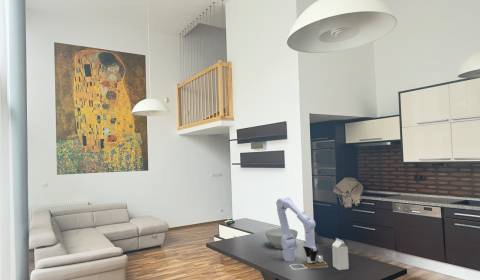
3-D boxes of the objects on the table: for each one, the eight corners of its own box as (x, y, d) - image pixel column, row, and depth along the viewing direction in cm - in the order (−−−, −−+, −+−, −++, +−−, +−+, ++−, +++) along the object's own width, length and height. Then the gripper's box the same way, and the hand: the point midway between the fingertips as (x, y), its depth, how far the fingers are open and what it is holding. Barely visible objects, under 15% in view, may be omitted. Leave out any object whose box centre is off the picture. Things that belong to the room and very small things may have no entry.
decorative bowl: (258, 247, 253) (258, 232, 254) (277, 240, 273) (277, 226, 274) (286, 253, 235) (285, 237, 236) (304, 245, 255) (303, 230, 256)
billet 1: (306, 265, 204) (306, 255, 204) (312, 265, 204) (311, 255, 205) (308, 267, 200) (308, 257, 200) (314, 267, 200) (314, 257, 201)
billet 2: (315, 264, 205) (315, 254, 206) (321, 264, 206) (321, 254, 206) (318, 266, 201) (318, 256, 202) (324, 266, 202) (323, 256, 202)
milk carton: (338, 271, 194) (337, 241, 195) (333, 268, 201) (331, 238, 202) (348, 270, 196) (347, 240, 197) (342, 267, 203) (341, 237, 204)
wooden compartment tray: (303, 266, 205) (302, 261, 205) (323, 264, 208) (322, 259, 208) (307, 270, 198) (307, 265, 198) (328, 268, 200) (328, 263, 201)
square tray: (288, 267, 205) (288, 264, 205) (301, 265, 207) (301, 263, 207) (293, 271, 196) (293, 269, 196) (307, 270, 198) (306, 268, 198)
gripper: (300, 235, 210) (300, 256, 209) (308, 241, 196) (309, 263, 195) (309, 235, 211) (310, 255, 210) (319, 240, 197) (320, 262, 196)
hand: (310, 259), depth 203 cm, fingers open, 7 cm apart
